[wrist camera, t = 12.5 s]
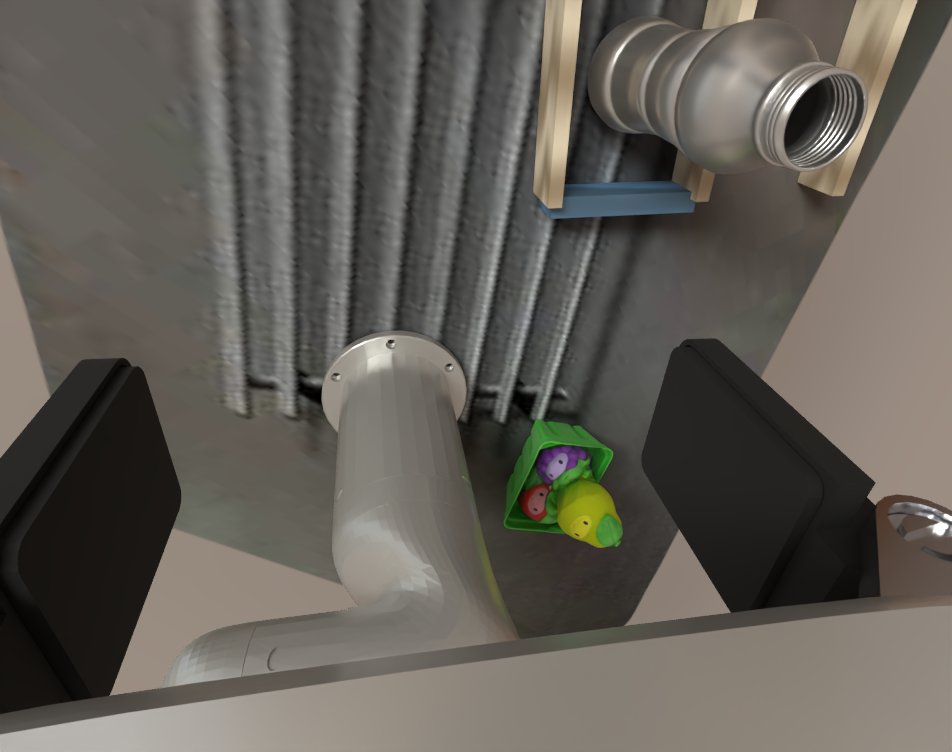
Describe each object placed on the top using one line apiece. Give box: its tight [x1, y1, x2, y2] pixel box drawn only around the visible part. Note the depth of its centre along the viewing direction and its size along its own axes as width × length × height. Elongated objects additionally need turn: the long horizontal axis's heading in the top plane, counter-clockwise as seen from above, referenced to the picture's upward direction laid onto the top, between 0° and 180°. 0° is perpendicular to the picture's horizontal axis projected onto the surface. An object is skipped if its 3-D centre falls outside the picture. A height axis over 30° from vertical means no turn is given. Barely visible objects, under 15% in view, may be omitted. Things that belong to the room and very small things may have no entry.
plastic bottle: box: [587, 15, 868, 175], centre depth 29 cm, size 6×7×20 cm
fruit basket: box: [504, 420, 623, 548], centre depth 52 cm, size 11×9×11 cm
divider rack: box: [533, 0, 917, 219], centre depth 37 cm, size 18×23×4 cm
